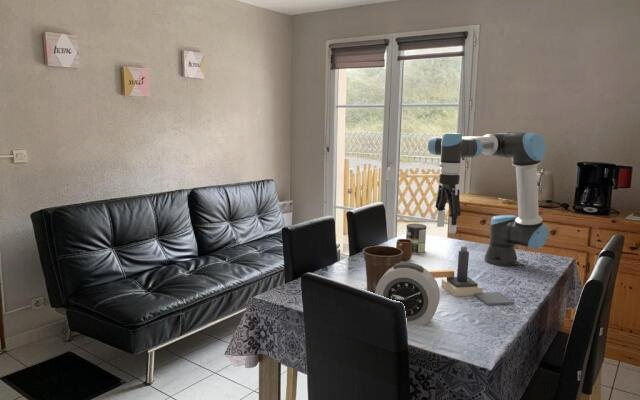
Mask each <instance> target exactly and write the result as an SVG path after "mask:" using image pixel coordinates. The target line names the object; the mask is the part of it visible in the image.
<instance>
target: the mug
mask: <svg viewBox="0 0 640 400" xmlns="http://www.w3.org/2000/svg"><path fill="white" fill-rule="evenodd" d="M395 245H396V246H395V248H399V249H401V250H402V251H403V254H402V257H401V262H402V261H403V262H408V261H410V260H411V259H412V254H411V252H412V241H411V240H408V239H406V238H399V239H398V238H397V240H396V243H395Z"/></svg>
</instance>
